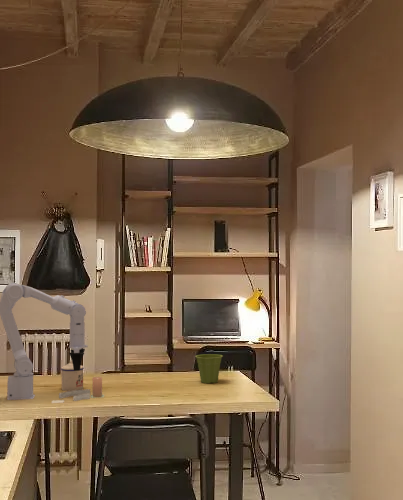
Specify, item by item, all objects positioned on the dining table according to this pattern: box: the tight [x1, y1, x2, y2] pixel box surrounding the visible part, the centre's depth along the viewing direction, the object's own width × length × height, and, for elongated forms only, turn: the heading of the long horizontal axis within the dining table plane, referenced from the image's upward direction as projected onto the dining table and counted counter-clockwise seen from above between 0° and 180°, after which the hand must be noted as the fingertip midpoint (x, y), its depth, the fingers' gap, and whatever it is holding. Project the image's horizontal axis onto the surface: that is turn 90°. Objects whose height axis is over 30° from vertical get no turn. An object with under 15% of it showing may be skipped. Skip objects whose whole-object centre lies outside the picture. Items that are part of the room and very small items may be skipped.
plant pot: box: [195, 353, 224, 384], centre depth 277 cm, size 12×12×11 cm
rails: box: [58, 389, 91, 402], centre depth 244 cm, size 12×12×2 cm
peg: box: [92, 376, 103, 398], centre depth 247 cm, size 4×4×7 cm
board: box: [51, 394, 105, 404], centre depth 243 cm, size 20×15×1 cm
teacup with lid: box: [60, 360, 84, 392], centre depth 265 cm, size 12×9×12 cm
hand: (77, 369), depth 253 cm, fingers open, 7 cm apart
